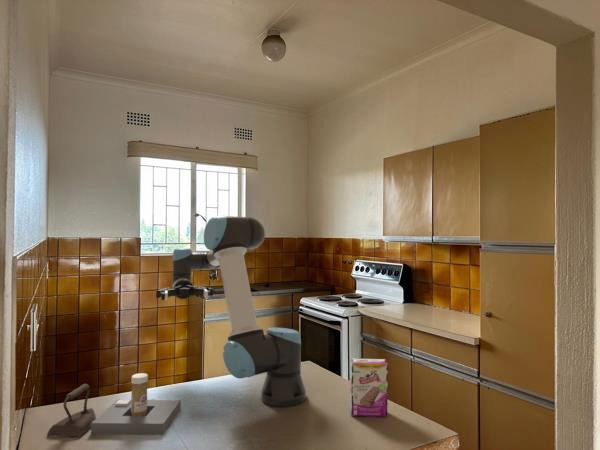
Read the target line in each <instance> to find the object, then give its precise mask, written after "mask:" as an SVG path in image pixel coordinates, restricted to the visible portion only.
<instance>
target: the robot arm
mask: <svg viewBox="0 0 600 450" xmlns="http://www.w3.org/2000/svg"><path fill="white" fill-rule="evenodd" d="M265 238H266V231H265V228H264V225H263V224H262V223H261V222H260V221H259V220H258V219H256V218H253V217H251V216H231V215H230V216H229V215H221V216H220V215H215V216H212V217H211V218H210V219H209V220H208V221H207V223H206V225H205V228H204V232H203V243H204V246H205V248H206V249H207V250H209V251H206V252H192V249H191V248H187V247H186V248H174V250H173V252H172V282H171V287H169V286H167V287H165V288H162V289H158V290H155V298H156V299H159V298H161V301H165V302H167V301H168V298H170V297H176V298H177V299H180V300H187V299H189V298H190V297H192V296H194V297H195V296H203V297H204V298H205V300H208V299H209V297H210V296H213V297H214V290H215V289H214V288H212V287H209V286H206V287H205V286H202V285H200V286H198V287H197V286H194V285H193V283H192V271H204V270H206V271H207V270H213V271H215V270H217V269H218V270H219V269H220V276H221V280H222V286H223V291H224V298H225V303H226V308H227V313H228V320H229V324H230V333H228V335H227V340H228V341H227V342H225V344H224V346H223V351H222V357H223V362H224V365H225V367H226V369H227V371H228V373H229V374H230V375H232V376H233V377H235V378H237V379H246V378H252V377H254V376H258V375H261V374H265V373H266V374H265V379H264V382H263V385H262V388H261V392H260V397H261V398H260V399H261V401H262V402H263V403H265V404H267V405H269V406H274V407H293V406H297V405H300V404H301V403H303V402H305V400H306V399H305V398H306V396H307V395H306V394H307V393H306V387H305V385H304V381H303V377H302V375H301V374H302V373H301V372H302V371H301V368H302V365H301V363H302V362H301V360H302V359H301V358H302V355H301V354H302V340H301V334H300V332H299V331H298V330H295V329H293V328H292V329H291V328H285V327H269V328H267V329H266V333H264V329H263V327H261V326H260V325H259V324H258V321H257V317H256V312H255V307H254V301H253V297H252V291H251V290H252V289H251V286H250V282H249V276H248V270H247V266H246V261H245V254H246V253H247V252H252V251H254V250H256V249H258V248H259V247H260V246H261V245H262V244H263V243H264V241H265Z"/></svg>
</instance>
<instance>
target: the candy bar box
mask: <svg viewBox="0 0 600 450" xmlns="http://www.w3.org/2000/svg"><path fill="white" fill-rule="evenodd" d="M388 376H389V364H388V361H387V360H386V359H385V358H383V359H382V358H356V357H355V358H354V357H353V358H350V381H349V382H350V384H349V385H350V386H349V387H350V388H349V389H350V391H349V393H350V394H349V397H350V398H349V410H350V414H351V417H368V418H369V417H370V418H371V417H373V418H374V417H375V418H376V417H377V418H378V417H379V418H387V417H388V398H389V397H388V395H389V394H388V393H389V392H388V386H389V384H388V383H389V382H388V379H389V377H388Z"/></svg>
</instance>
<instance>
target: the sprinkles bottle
mask: <svg viewBox="0 0 600 450" xmlns="http://www.w3.org/2000/svg"><path fill="white" fill-rule="evenodd" d="M148 380H149V375H148V374H147V373H144V372H140V373H134V374H132V376H131V380H130V381H131V382H130V383H131V392H130V394H131V399H130V400H131V416H147V400H148Z"/></svg>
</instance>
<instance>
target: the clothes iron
mask: <svg viewBox="0 0 600 450" xmlns="http://www.w3.org/2000/svg"><path fill="white" fill-rule="evenodd" d="M90 388H91V387H90V385H89V384H88V383H83V384H81V385H80V386H79V387H77V388H75V389H73V390H72V391H71V392H69V393H67V394H66V396H65V399H64V401H63V409H64V411H65V413H66V415H67V417H64V418H63V419H61V420H60V421H58V422H57V423H55V424H53V425H52V426H51V427H50V428H49V429H48V432H47V433H46V434H47V435H46V436H47V437H48V436H59V437H58V438H69V437H70V438H74V439H75V438H76V439H80V438H82V437H83V436H85V435H86V434H87V433H88V432H89V431H91V423H92V422H93V421H94V420H95V419H96V418H97V417H96V412H95V410H94V409H93V408H92V407H91V408H88V406H87V405H88V399H89V395H90V390H91V389H90ZM84 392H86V395H85V398H84V404H83V410H81V411H78V412H76V413H73V414H71V412H70V411H69V409H68V407H67V402H68V401H71V400H75V398H77V397H79V396H80V395H81V394H83V393H84Z"/></svg>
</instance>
